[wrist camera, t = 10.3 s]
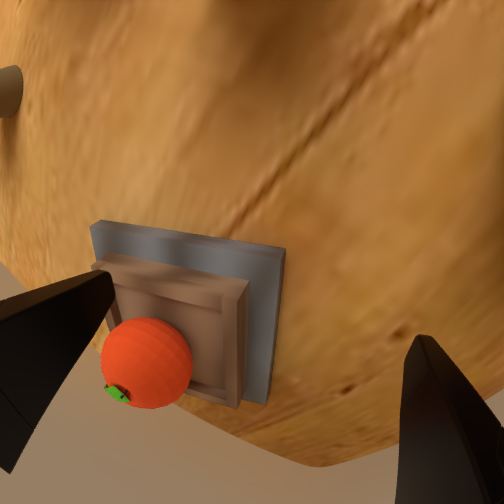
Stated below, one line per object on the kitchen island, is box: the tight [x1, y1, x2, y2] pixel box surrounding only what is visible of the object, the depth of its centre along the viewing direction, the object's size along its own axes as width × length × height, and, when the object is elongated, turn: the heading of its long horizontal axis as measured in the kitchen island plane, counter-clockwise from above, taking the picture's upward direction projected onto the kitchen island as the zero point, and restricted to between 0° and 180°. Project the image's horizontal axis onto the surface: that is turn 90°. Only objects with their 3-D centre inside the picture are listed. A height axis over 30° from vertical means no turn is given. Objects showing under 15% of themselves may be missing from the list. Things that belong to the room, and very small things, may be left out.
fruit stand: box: [90, 220, 286, 409], centre depth 24 cm, size 16×16×4 cm
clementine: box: [101, 317, 193, 409], centre depth 20 cm, size 8×7×7 cm
